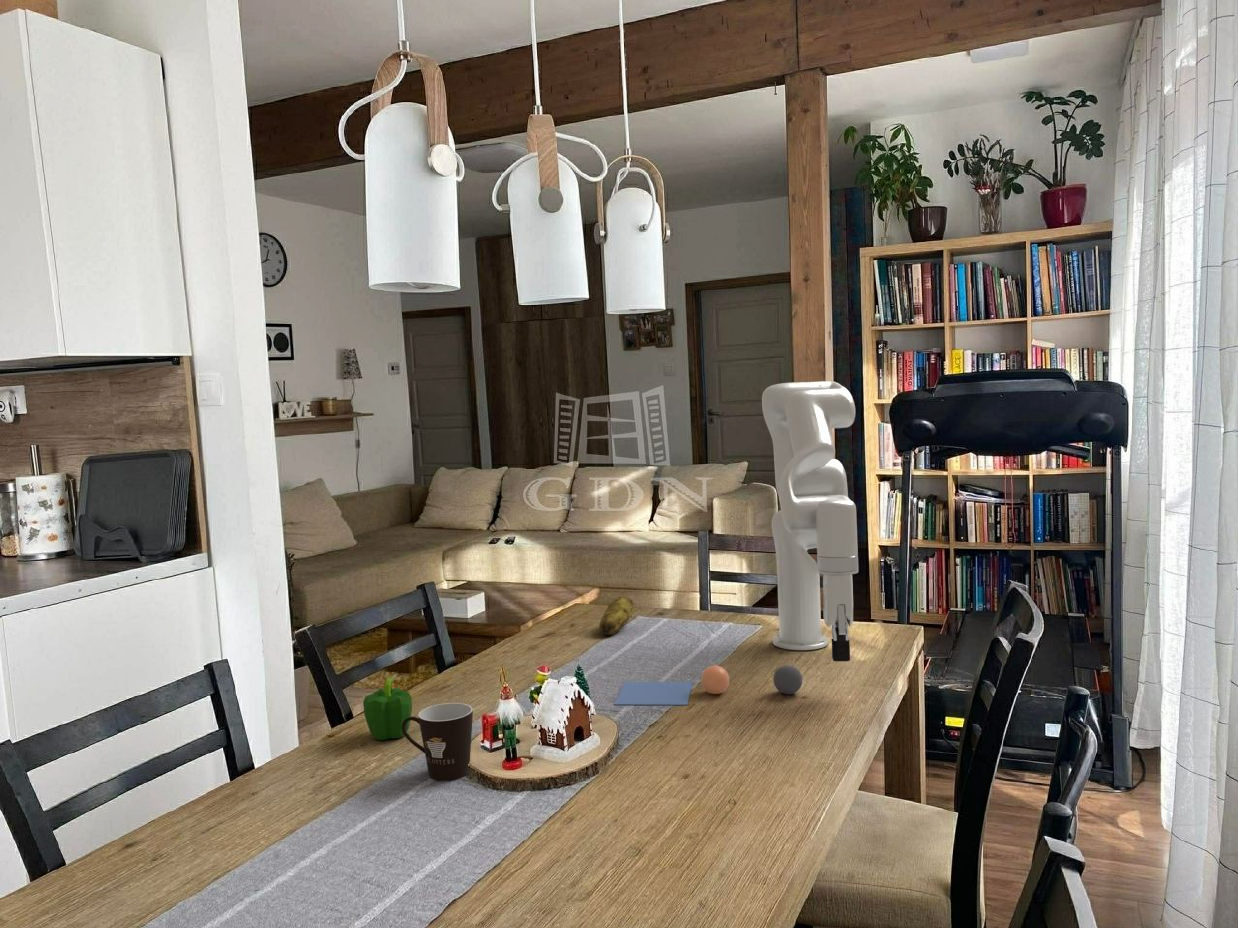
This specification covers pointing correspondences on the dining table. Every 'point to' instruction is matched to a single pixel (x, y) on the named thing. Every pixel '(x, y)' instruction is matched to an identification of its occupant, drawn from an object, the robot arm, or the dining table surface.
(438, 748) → the coffee mug
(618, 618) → the potato
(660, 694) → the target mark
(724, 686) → the object ball
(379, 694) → the bell pepper
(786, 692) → the dark gray ball
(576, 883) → the dining table surface
